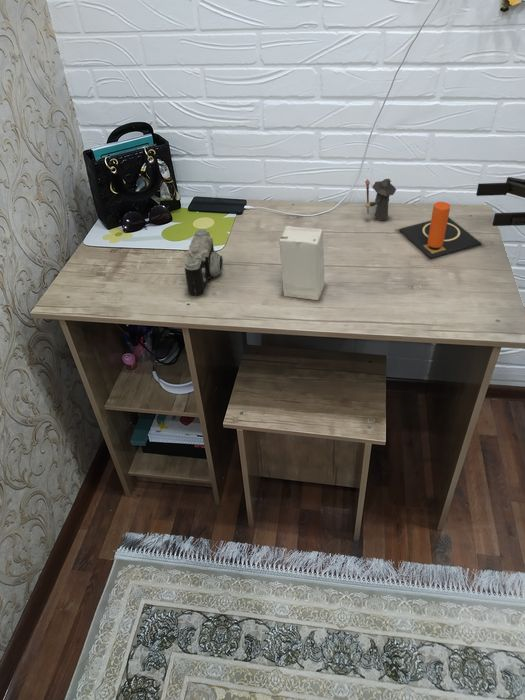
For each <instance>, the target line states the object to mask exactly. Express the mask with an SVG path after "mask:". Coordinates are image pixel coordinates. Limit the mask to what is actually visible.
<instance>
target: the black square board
mask: <svg viewBox="0 0 525 700" xmlns="http://www.w3.org/2000/svg"><path fill="white" fill-rule="evenodd" d="M430 224H431V220H429V221H424V222H421V223H416V224H413V225H409V226H405V227H402V228H399V229H398V231H399V232H400V233H401V234H402V235H403V236H404V237H405V238H406V239H407V240H408V241H410V242H411V244H413V245H414V246H415V247H416V248H417V249H418V250H419V251H421V252H422V253H423V254H424V255H425V256H426V257H427V258H428V259H430V260H432V259H436V258H440V257H443V256H447V255H451V254H454V253H458V252H462V251H465V250H469V249H472V248H476V247H480V246H481V245H482V242H480V241H479V240H478V239H477V238H476V237H474V236H473V235H472V234H470V232H468V231H467V230H466V229H464V228H463V227H462V226H460V225H459V224H458V223H457V222H455V221H454V220H452V218H450V216H448V221H447V226H446V232H445V237H444V242H443V246H441V247H440V249H439V250H432V249H430V248H429V245H428V243H427V242H428V236H429V230H430Z"/></svg>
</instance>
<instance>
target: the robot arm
mask: <svg viewBox="0 0 525 700" xmlns="http://www.w3.org/2000/svg"><path fill="white" fill-rule="evenodd" d="M475 194H476V197H488V196H489V197H490V196H506V195H508V194H509V195H513V196H516V197H520V198H522V199H525V178H517V177H511V176H507V178H506V181H505V182H488V183H483V182H482V183H478V185H477V189H476V193H475ZM492 226H493V227H507V226H508V227H511V226H515V227H519V226H525V211H518V212H495V213H494V216H493V220H492Z"/></svg>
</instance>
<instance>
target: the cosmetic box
mask: <svg viewBox="0 0 525 700" xmlns="http://www.w3.org/2000/svg"><path fill="white" fill-rule="evenodd" d="M278 242H279V254H280V266H281V277H282V278H281V279H282V288H283V296H284V297H292V298H298V299H304V300H305V299H307V300H313V301H319V300H320V297H321V296H322V295H321V294H322V292H323V289H324V287H325V255H324V254H325V253H324V251H325V250H324V229H323V228H315V227H313V228H312V227H301V226H290V225H286V227H285V228H284V231H283V232H282V235H281V237H280V238H279V240H278Z"/></svg>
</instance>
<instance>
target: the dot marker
mask: <svg viewBox="0 0 525 700" xmlns="http://www.w3.org/2000/svg"><path fill="white" fill-rule="evenodd" d="M450 211H451V204H450V203H448V202H446V201H437V202H435V203H433V207H432V213H431V220H430V221H431V224H430V230H429V236H428V242H427V243H428V245H429V248H430V249H432V250H439V249H440V247H441V246H443V242H444V237H445V232H446V226H447V221H448V217H450V216H449V215H450Z"/></svg>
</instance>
